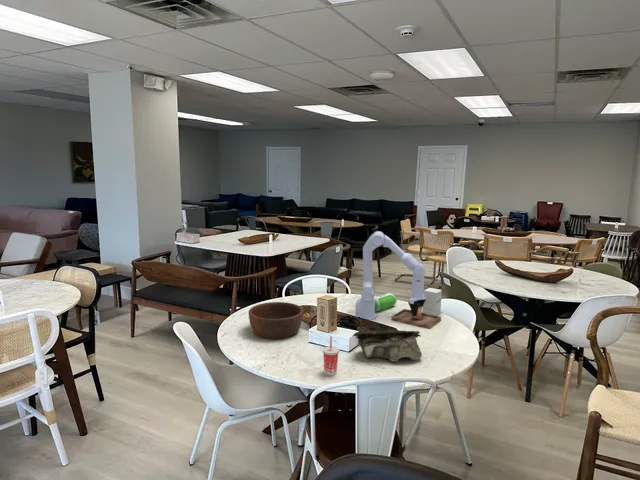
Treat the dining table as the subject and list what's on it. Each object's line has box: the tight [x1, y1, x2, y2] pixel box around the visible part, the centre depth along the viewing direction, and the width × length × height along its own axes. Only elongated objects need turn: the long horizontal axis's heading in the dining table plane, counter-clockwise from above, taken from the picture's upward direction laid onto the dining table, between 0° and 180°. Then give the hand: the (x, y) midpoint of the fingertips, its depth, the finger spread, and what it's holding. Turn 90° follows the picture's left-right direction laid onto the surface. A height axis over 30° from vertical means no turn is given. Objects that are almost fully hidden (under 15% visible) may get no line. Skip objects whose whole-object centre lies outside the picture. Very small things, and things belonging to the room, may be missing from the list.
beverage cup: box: [322, 335, 340, 376], centre depth 153 cm, size 6×6×14 cm
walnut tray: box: [391, 308, 442, 330], centre depth 209 cm, size 20×15×2 cm
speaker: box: [374, 292, 398, 313], centre depth 226 cm, size 18×7×8 cm, turn 134°
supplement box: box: [422, 287, 443, 316], centre depth 220 cm, size 7×7×13 cm
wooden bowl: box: [248, 301, 304, 340], centre depth 193 cm, size 25×25×10 cm
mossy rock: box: [352, 329, 423, 362], centre depth 165 cm, size 28×13×15 cm
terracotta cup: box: [411, 306, 423, 319], centre depth 209 cm, size 5×5×6 cm
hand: (416, 314), depth 209 cm, fingers closed on terracotta cup, 5 cm apart
